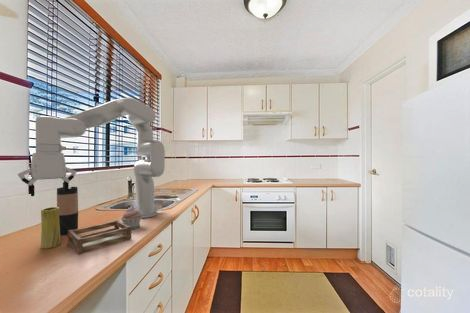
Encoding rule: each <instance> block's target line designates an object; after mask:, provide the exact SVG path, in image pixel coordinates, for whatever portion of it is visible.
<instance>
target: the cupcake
mask: <svg viewBox="0 0 470 313" xmlns="http://www.w3.org/2000/svg"><path fill="white" fill-rule="evenodd" d="M140 215H141V213H140V212H139V211H138V210H137V209H136V208H134V206H130V207H128V208H127V209H126V211H124V212H123V215H122V217H121V218H120V219H121V223H123V224H125V225H127V226H131V230H134V229H137V228H139V227H140V224H141V223H140V222H141V219H143V218H142V216H140Z"/></svg>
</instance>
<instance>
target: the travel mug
mask: <svg viewBox="0 0 470 313" xmlns="http://www.w3.org/2000/svg"><path fill="white" fill-rule="evenodd" d="M78 191H79V190H78V186H71V187H69V190H67V193H64V192H63V186H62V187H58V188H56V207H59V223H60V236H66V235H67V236H68V230H75V229H79V196H78V194H79V193H78Z"/></svg>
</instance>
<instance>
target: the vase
mask: <svg viewBox="0 0 470 313" xmlns="http://www.w3.org/2000/svg"><path fill="white" fill-rule="evenodd" d="M40 218H41V225H40V226H41V230H40V231H41V234H40V248H41V249H42V250H43V249H44V250H45V249H52V248H55V247H58V246H60V245H61V244H62V241H61V240H62V239H61V235H60V223H59V207H57V206H51V207H46V208H45V207H44V208H41V210H40Z"/></svg>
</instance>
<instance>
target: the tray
mask: <svg viewBox="0 0 470 313" xmlns="http://www.w3.org/2000/svg"><path fill="white" fill-rule="evenodd" d="M111 227H112V228H111ZM106 228H107V229H106ZM102 229H104V230H102ZM97 230H100V231H97ZM94 231H95V232H94ZM89 232H91V233H89ZM84 233H87V234H84ZM79 234H83V235H79ZM130 239H131V240H132V229H131V226H127V225H125V224H123V222H122V221H120V220H118V219H115V220H113V221H109V222H104V223H103V222H102V223H100V224H94V225H90V226H86V227H81V228H78V229H75V230H68V234H67V244H68V245H69V246H70V247H71V248H72V249H73V250H74V251H75V252H76V254H77V255H81V254H84V253H87V252H91V251H95V250H99V249H103V248H105V247H109V246H112V245H116V244H119V243H122V242H126V241H131V240H130Z"/></svg>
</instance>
